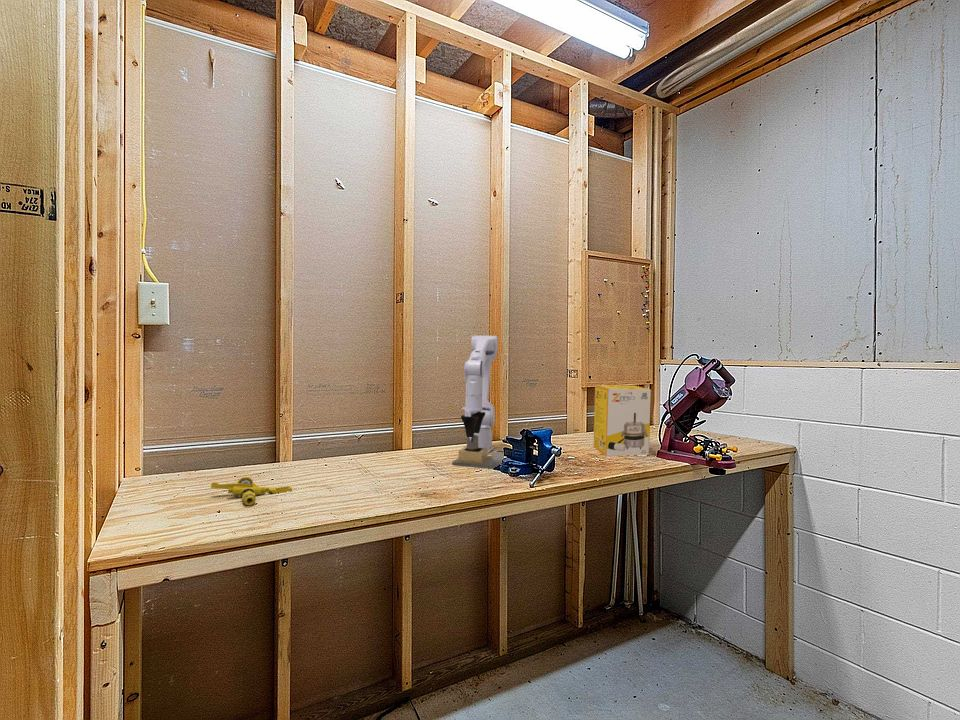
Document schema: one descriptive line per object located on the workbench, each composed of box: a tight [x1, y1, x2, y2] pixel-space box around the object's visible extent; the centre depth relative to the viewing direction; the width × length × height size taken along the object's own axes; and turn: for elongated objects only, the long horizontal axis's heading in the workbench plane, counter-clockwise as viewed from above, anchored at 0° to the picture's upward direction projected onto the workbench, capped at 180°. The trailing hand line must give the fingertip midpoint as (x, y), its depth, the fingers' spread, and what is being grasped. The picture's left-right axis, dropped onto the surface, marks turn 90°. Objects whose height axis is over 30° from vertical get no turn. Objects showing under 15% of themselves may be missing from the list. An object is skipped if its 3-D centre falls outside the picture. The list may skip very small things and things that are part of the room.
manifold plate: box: [452, 445, 504, 470], centre depth 170 cm, size 12×18×4 cm, turn 75°
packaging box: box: [593, 384, 652, 457], centre depth 193 cm, size 16×16×25 cm
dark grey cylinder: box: [466, 435, 479, 452], centre depth 171 cm, size 4×4×8 cm
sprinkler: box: [210, 476, 293, 506], centre depth 129 cm, size 19×4×15 cm
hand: (473, 434), depth 171 cm, fingers open, 7 cm apart
